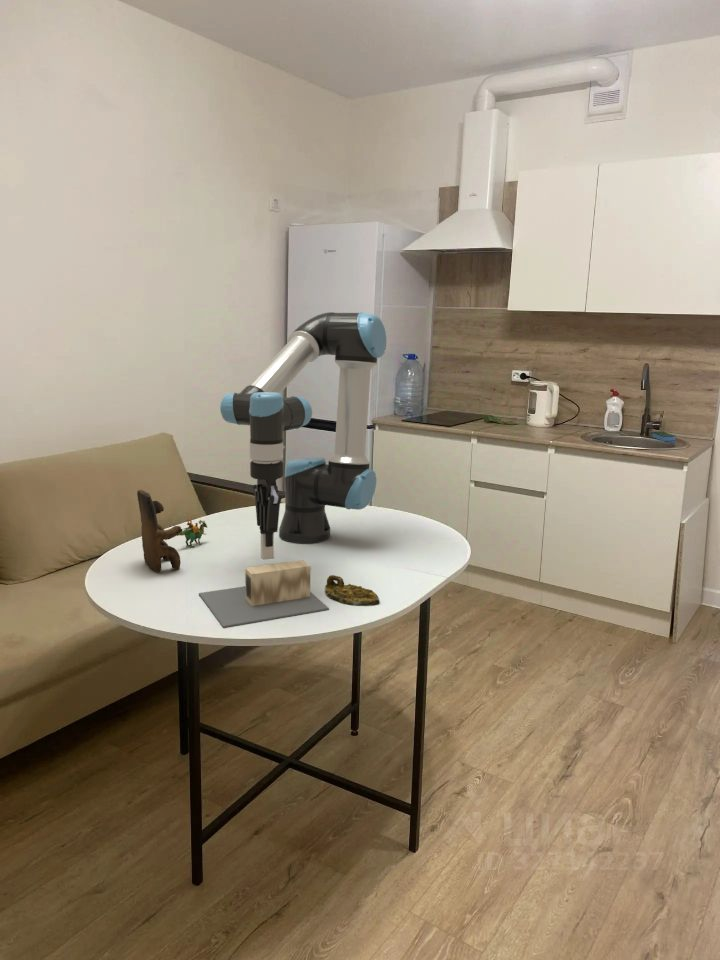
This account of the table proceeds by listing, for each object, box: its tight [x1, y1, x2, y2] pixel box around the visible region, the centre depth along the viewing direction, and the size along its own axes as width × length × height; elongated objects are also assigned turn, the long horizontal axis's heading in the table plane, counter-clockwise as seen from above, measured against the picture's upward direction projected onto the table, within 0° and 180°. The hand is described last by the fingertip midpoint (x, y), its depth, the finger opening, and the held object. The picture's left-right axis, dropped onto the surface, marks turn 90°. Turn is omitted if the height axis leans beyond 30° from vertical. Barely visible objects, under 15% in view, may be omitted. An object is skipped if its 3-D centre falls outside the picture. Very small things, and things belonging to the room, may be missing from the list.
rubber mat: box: [198, 586, 330, 629], centre depth 165 cm, size 24×20×1 cm
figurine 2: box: [176, 518, 208, 548], centre depth 202 cm, size 3×12×8 cm, turn 143°
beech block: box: [244, 559, 311, 606], centre depth 166 cm, size 8×4×14 cm
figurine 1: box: [136, 489, 183, 573], centre depth 184 cm, size 13×8×20 cm, turn 37°
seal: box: [324, 574, 380, 607], centre depth 169 cm, size 9×5×15 cm
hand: (267, 558), depth 172 cm, fingers closed
